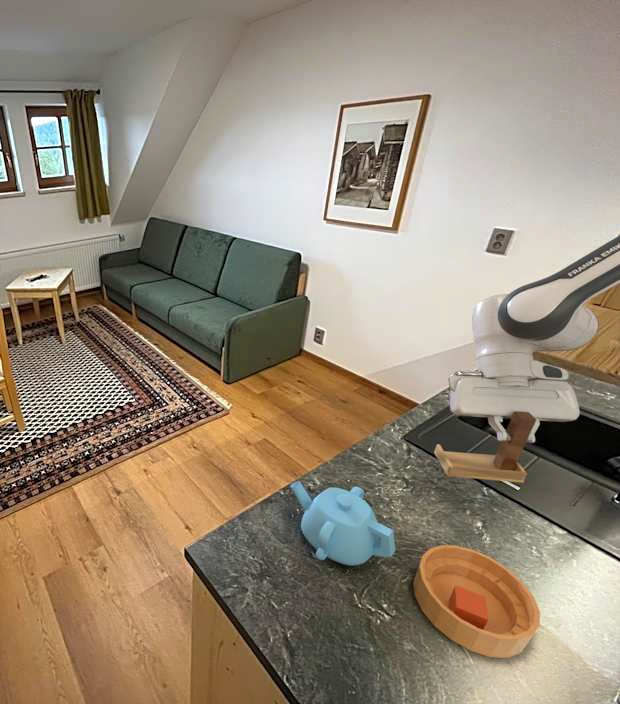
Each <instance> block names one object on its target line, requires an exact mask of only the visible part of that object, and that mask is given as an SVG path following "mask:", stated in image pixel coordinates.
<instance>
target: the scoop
mask: <svg viewBox="0 0 620 704" xmlns="http://www.w3.org/2000/svg"><path fill="white" fill-rule="evenodd" d="M535 422H536V419H535V418H534V417H533V416H532V415H531V414H530V413H529V412H519V411H514V413H513V415H512V418H511V419H509V422H508V425H507V427H506V429H505V430H506V431H510V432H511V437H512V440H511V441H500V444H499V447H498V449H497V451H496V454H486V453H485V454H484V453H472V452H459V451H445V450H444V449H443V447H442V446H441V444H440V443H439V444H438V443H437V444H436V446H435V448H434V451H433V453H434V456H435V457H436V459H437V460H438V462H439V464H440V467H442V469H443V471H444V473H445V474H446V476H447V477H453V478H454V477H455V478H463V479H476V480H485V481H486V480H488V481H499V482H512V483H524V482H525V480H526V478H527V476H528V473H527V471H526V470H525V469H524V468H523V466H522V465H521V464H520V463H519V459H520V457H521V454H522V452H523V450H524V448H525V446H526V444H527V443H526V441H527V439H528V437H529V435H530V433H531V430H532V428H533V426H534V424H535Z"/></svg>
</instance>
